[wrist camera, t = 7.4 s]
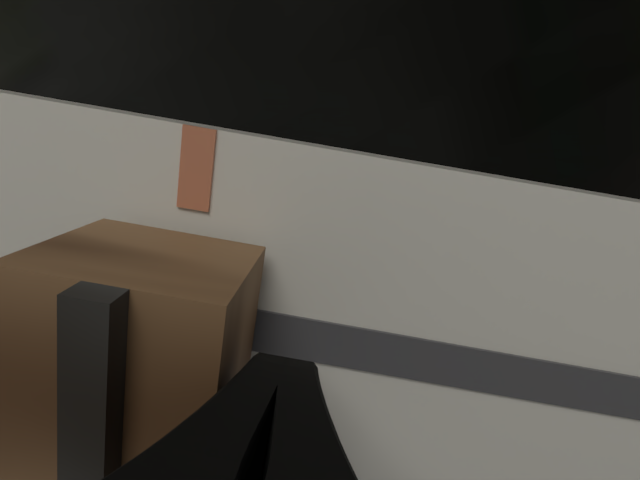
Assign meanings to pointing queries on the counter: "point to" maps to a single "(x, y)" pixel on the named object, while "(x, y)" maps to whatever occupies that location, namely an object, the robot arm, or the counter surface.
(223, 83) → the counter surface
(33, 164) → the fader console
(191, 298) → the slider cap
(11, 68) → the counter surface
